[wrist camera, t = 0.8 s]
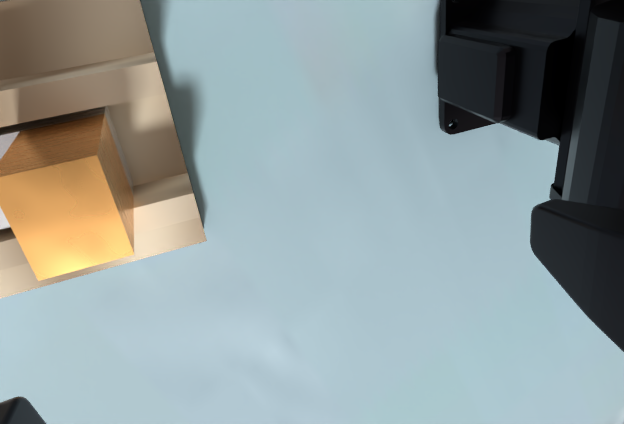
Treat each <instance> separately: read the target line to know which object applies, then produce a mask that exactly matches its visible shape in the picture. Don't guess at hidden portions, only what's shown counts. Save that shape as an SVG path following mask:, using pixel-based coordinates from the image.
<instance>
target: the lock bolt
mask: <svg viewBox="0 0 624 424" xmlns="http://www.w3.org/2000/svg"><path fill="white" fill-rule="evenodd" d="M9 227H11V228H12V230H13V232H14V234H15V236H16V238H17V240H18V242H19V244H20V246H21V248H22V250H23V252H24V254H25V256H26V258H27V260H28V262H29V264H30V266H31V268H32V270H33V271H34V273H35V275H36V277H37V279H38V281H40V280H44V279H47V278H51V277H55V276H58V275H62V274H66V273H69V272H73V271H76V270H80V269H84V268H87V267H91V266H95V265H98V264H102V263H105V262H109V261H113V260H116V259H120V258H124V257H127V256H131V255H134V201H133V179H132V176H131V174H130V171H129V168H128V165H127V162H126V159H125V156H124V153H123V150H122V147H121V144H120V142H119V139H118V136H117V133H116V130H115V127H114V124H113V121H112V118H111V115H110V112H109V110H108V107H107V106H103V107H98V108H93V109H88V110H83V111H78V112H73V113H68V114H63V115H58V116H54V117H49V118H44V119H39V120H34V121H29V122H24V123H19V124H14V125H10V126H5V127H0V230H1V229H5V228H9Z"/></svg>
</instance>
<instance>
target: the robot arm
mask: <svg viewBox="0 0 624 424" xmlns="http://www.w3.org/2000/svg"><path fill="white" fill-rule="evenodd" d="M438 97H439V98H440V128H441V130H442V131H444V132H446V133H448V134H456V133H460V132H464V131H468V130H472V129H476V128H480V127H484V126H487V125H491V124H495V123H500V124H503V125H505V126H508V127H510V128H512V129H515V130H517V131H520V132H522V133H524V134H527V135H529V136H532V137H534V138H536V139H539V140H547V141H549V142H552V143H554V144H557V145H559V153H558V160H557V167H556V174H555V181H554V183H553V184H552V185H551V189H550V196H549V197H550V199H551V200H549V201H546V202H544V203H541V204H538V205H536V206H535V207H534V208H533V210H532V213H531V233H530V244H531V248H532V251H533V253H534V254H535V256H536V257H537V258H538V259H539V261H540V262H541V263H542V264H543V265H544V266H545V268H546V269H547V270H548V271H549V272H550V273H551V275H552V276H553V277H554V278H555V279H556V281H557V282H558V283H559V284H560V285H561V286H562V288H563V289H564V290H565V291H566V292H567V293H568V295H569V296H570V297H571V298H572V299H573V301H574V302H575V303H576V304H577V305H578V306H579V308H580V309H581V310H582V311H583V312H584V313H585V314H586V315H587V316H588V317H589V318H590V319H591V320H592V322H593V323H594V324H595V325H596V326H597V327H598V328H599V329H600V330H602V331H603V332H604V333H605V334H606V335H607V336H608V337H609V338H610V339H611V340H612V341H613V342H614V343H615V344H616V345H617V346H618V347H619V348H620V349H621V350H622V351H623V352H624V0H454V1H452V0H441V1H440V40H439V42H438ZM451 120H454V121H453V124H452V125H451V126H450V127H449V123H450V121H451ZM0 424H46V423H45V421H44V420H43V419H42V418H41V416H40V415H39V414H38V412H37V411H36V410H35V409H34V407H33V406H32V405H31V403H30V402H29V401H28V400H27V399H26V398H24V397H15V398H12V399H9V400H7V401H4V402H1V403H0Z"/></svg>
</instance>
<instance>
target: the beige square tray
mask: <svg viewBox="0 0 624 424" xmlns="http://www.w3.org/2000/svg"><path fill="white" fill-rule="evenodd" d="M103 106H107V107H108V110H109V112H110V115H111V118H112V121H113V124H114V127H115V130H116V133H117V136H118V139H119V142H120V144H121V147H122V150H123V153H124V156H125V159H126V162H127V165H128V168H129V171H130V174H131V176H132V179H133V201H134V255H131V256H127V257H124V258H120V259H116V260H113V261H109V262H105V263H102V264H98V265H95V266H91V267H87V268H84V269H80V270H76V271H73V272H69V273H66V274H62V275H58V276H55V277H51V278H47V279H44V280H40V281H38V279H37V277H36V275H35V273H34V271H33V270H32V268H31V266H30V264H29V262H28V260H27V258H26V256H25V254H24V252H23V250H22V248H21V246H20V244H19V242H18V240H17V238H16V236H15V234H14V232H13V230H12V228H11V227H9V228H5V229H1V230H0V298H3V297H7V296H11V295H14V294H18V293H21V292H25V291H29V290H32V289H36V288H39V287H43V286H47V285H50V284H54V283H57V282H61V281H64V280H68V279H72V278H75V277H79V276H82V275H86V274H90V273H93V272H97V271H100V270H104V269H107V268H111V267H115V266H118V265H122V264H125V263H129V262H133V261H136V260H140V259H143V258H147V257H150V256H154V255H158V254H161V253H165V252H168V251H172V250H176V249H179V248H183V247H186V246H190V245H194V244H197V243H201V242H204V241H207V240H206V237H205V233H204V229H203V226H202V222H201V219H200V215H199V211H198V208H197V204H196V200H195V197H194V193H193V190H192V186H191V183H190V179H189V176H188V172H187V168H186V165H185V161H184V158H183V154H182V150H181V147H180V143H179V140H178V136H177V132H176V129H175V125H174V122H173V118H172V115H171V111H170V107H169V104H168V100H167V97H166V93H165V89H164V85H163V82H162V78H161V75H160V71H159V67H158V64H157V60H156V57H155V53H154V50H153V46H152V43H151V39H150V35H149V32H148V28H147V25H146V21H145V18H144V14H143V10H142V7H141V3H140V0H5V1H0V127H5V126H10V125H14V124H19V123H24V122H29V121H34V120H39V119H44V118H49V117H54V116H58V115H63V114H68V113H73V112H78V111H83V110H88V109H93V108H98V107H103Z"/></svg>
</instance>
